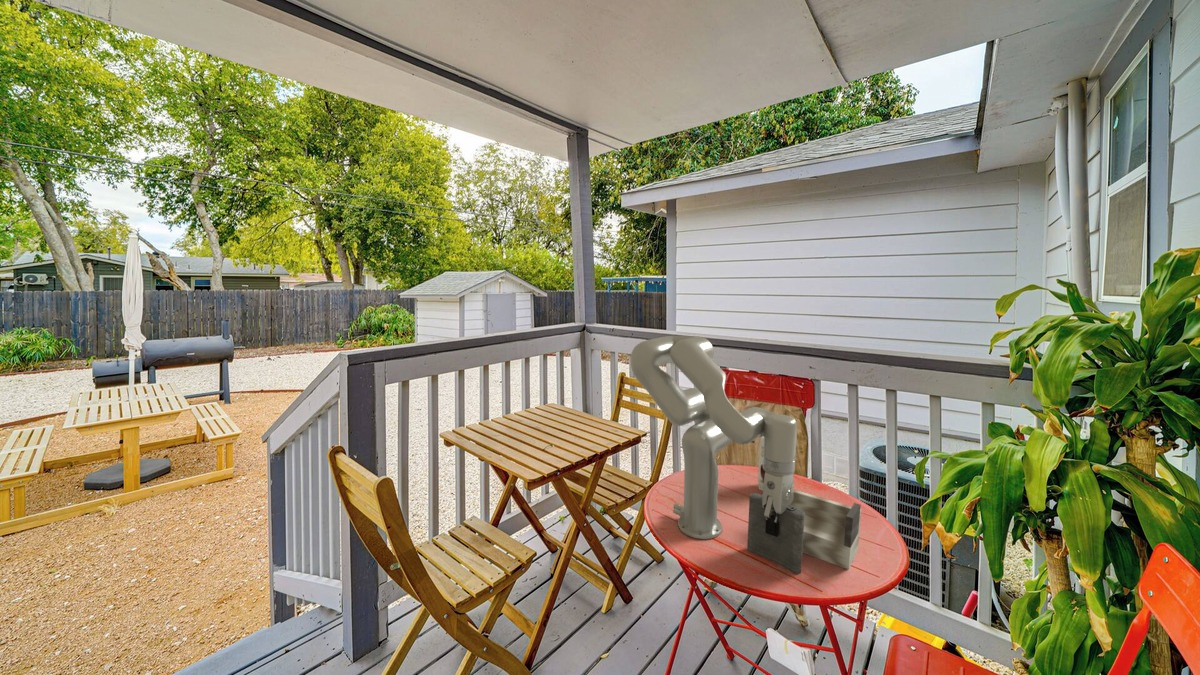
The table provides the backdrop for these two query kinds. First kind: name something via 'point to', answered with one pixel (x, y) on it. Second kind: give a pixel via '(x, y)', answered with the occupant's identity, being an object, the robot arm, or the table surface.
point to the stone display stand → (829, 528)
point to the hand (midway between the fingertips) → (775, 530)
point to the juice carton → (761, 465)
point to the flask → (773, 548)
